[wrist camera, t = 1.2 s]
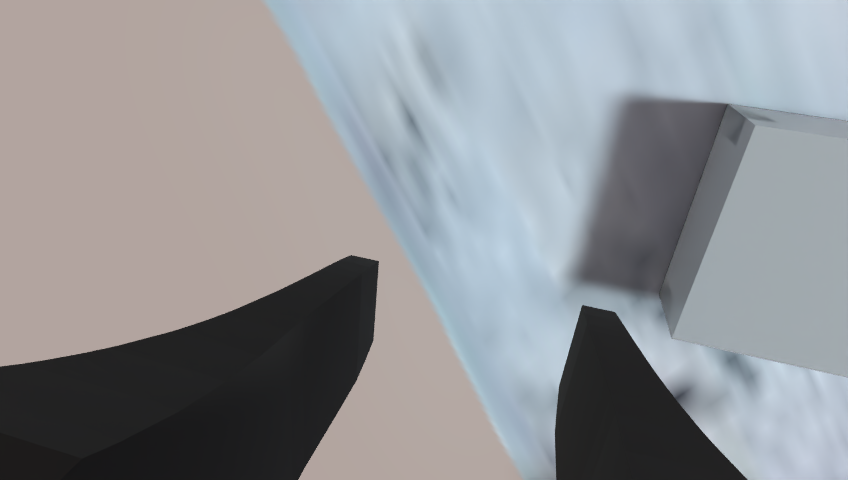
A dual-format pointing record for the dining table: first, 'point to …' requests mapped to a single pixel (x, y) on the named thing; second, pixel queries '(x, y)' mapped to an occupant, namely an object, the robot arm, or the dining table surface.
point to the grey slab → (767, 243)
